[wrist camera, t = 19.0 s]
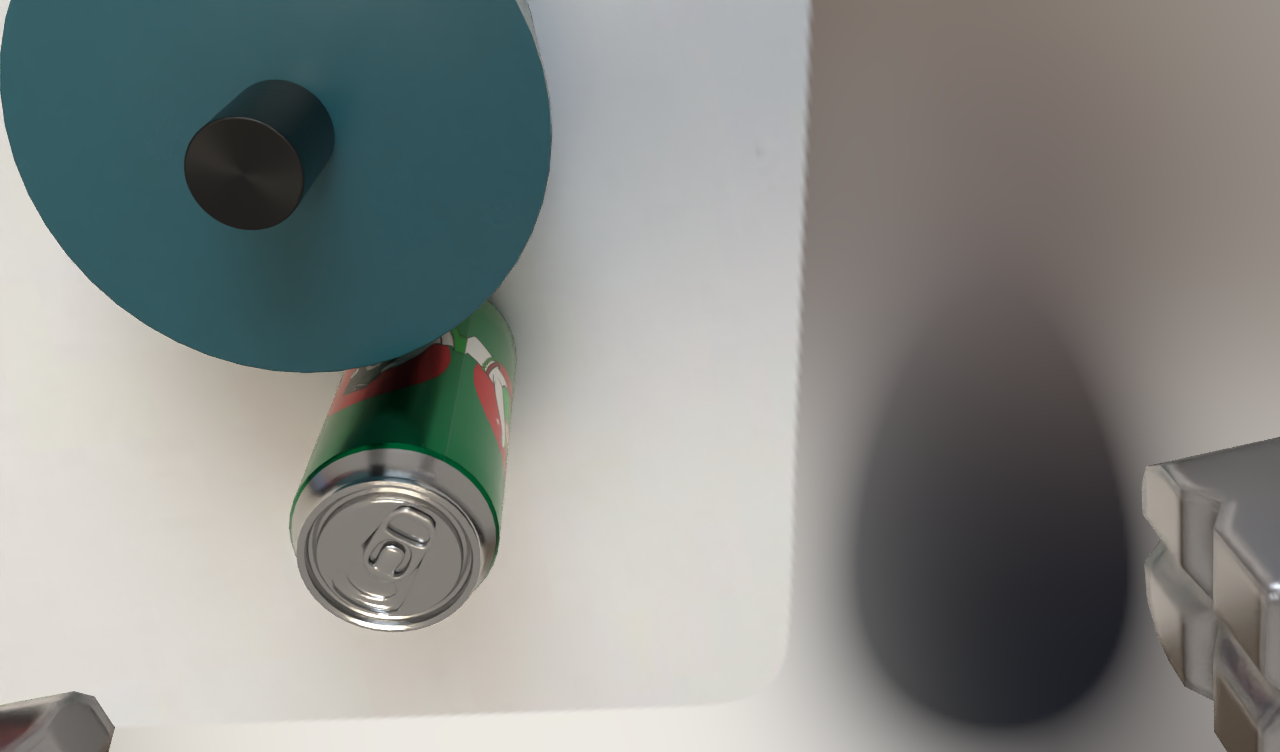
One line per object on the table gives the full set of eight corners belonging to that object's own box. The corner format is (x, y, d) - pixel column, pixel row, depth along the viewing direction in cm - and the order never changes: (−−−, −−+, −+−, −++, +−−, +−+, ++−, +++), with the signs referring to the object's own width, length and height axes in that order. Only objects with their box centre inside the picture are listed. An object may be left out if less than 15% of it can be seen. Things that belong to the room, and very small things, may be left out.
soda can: (333, 370, 38) (242, 591, 28) (407, 246, 37) (340, 430, 26) (469, 440, 40) (432, 675, 29) (546, 323, 38) (536, 528, 27)
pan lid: (467, -231, 25) (447, -238, 21) (606, 294, 30) (611, 371, 26) (-81, -87, 26) (-208, -66, 21) (150, 401, 31) (86, 493, 27)
